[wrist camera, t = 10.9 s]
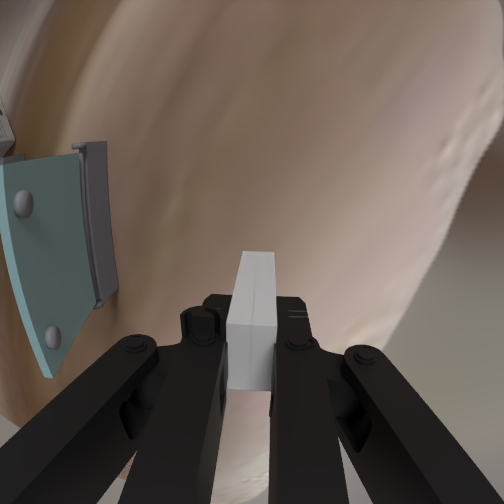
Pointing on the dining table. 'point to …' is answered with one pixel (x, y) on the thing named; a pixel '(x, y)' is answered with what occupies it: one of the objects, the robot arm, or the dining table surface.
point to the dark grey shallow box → (95, 215)
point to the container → (5, 133)
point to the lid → (48, 251)
